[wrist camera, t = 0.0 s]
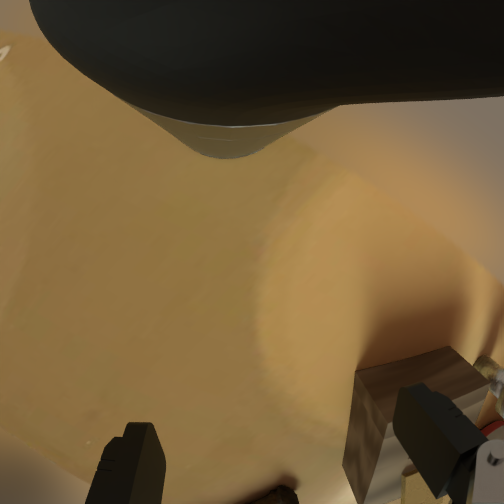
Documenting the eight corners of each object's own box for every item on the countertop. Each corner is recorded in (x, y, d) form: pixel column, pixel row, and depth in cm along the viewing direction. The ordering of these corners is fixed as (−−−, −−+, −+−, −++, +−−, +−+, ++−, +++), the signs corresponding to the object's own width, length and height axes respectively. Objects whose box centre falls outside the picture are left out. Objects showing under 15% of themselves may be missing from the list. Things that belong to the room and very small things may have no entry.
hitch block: (355, 371, 29) (387, 423, 21) (449, 346, 30) (491, 382, 22) (342, 465, 33) (360, 511, 25) (421, 440, 34) (447, 477, 26)
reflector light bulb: (470, 353, 31) (517, 393, 22) (498, 341, 31) (544, 376, 22) (460, 388, 32) (500, 430, 23) (488, 376, 32) (528, 412, 23)
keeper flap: (401, 474, 24) (405, 477, 23) (440, 458, 24) (445, 460, 23) (400, 516, 22) (403, 519, 21) (437, 500, 23) (442, 502, 22)
